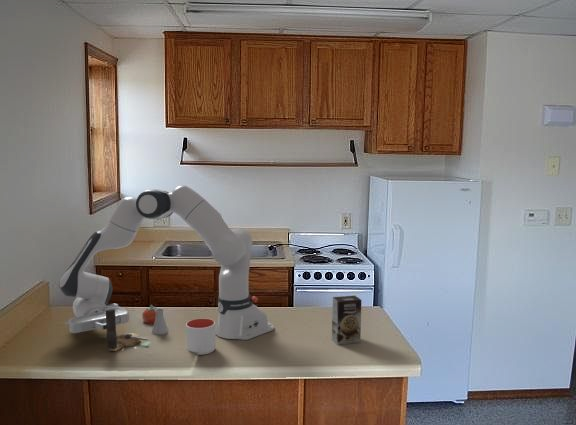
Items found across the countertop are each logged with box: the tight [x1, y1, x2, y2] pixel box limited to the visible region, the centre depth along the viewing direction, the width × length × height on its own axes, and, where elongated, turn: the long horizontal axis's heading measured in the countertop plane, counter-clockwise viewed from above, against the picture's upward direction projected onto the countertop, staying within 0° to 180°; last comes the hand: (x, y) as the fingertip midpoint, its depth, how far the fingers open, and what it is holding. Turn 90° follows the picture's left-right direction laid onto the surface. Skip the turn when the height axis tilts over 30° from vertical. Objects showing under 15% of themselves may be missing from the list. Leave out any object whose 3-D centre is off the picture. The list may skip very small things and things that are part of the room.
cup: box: [185, 317, 217, 356], centre depth 184 cm, size 10×10×10 cm
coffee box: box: [331, 294, 362, 346], centre depth 193 cm, size 9×6×16 cm
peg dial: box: [106, 309, 149, 352], centre depth 184 cm, size 14×12×14 cm
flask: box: [151, 307, 169, 335], centre depth 198 cm, size 7×7×10 cm
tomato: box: [141, 304, 158, 324], centre depth 210 cm, size 7×7×8 cm
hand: (106, 327), depth 182 cm, fingers closed
